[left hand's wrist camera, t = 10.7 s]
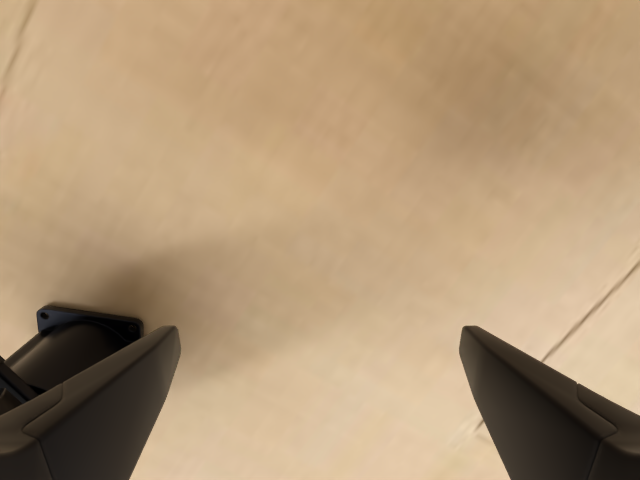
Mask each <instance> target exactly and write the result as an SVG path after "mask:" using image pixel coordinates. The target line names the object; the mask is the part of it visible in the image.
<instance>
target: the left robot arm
mask: <svg viewBox="0 0 640 480" xmlns="http://www.w3.org/2000/svg"><path fill="white" fill-rule="evenodd" d="M46 313H47V314H48V315H49V316H48V315H46ZM37 323H38V332H39V333H38V334H37V335H36V336H34V337H33V338H32V339H31V340H29V341H28V342H27V343H26V344H25V345H23V346H22V347H21V348H20V349H19V350H17V351H16V352H15V353H14V354H12V355H11V356H10V357H9V358H8V359H6V360H4V359H3V358H2V357H1V356H0V480H129V479H130V477H131V475H132V472H133V470H134V468H135V466H136V464H137V461H138V459H139V457H140V455H141V453H142V450H143V448H144V446H145V444H146V442H147V439H148V437H149V435H150V433H151V431H152V429H153V426H154V424H155V422H156V420H157V418H158V415H159V413H160V411H161V409H162V407H163V404H164V402H165V400H166V397H167V394H168V391H169V388H170V385H171V382H172V379H173V376H174V373H175V370H176V367H177V364H178V361H179V357H180V354H181V346H180V340H179V333H178V329H177V327H176V326H162V327H160V328H158V329H157V330H155V331H153V332H151V333H149V334H148V335H146V336H144V337H143V323H142V322H141V321H140V320H139V319H136V318H130V317H123V316H116V315H109V314H102V313H95V312H88V311H81V310H74V309H67V308H60V307H53V306H44V307H42V308H41V309H39V310H38V311H37ZM132 325H134V326H136V328H134V327H133V326H132ZM459 354H460V357H461V361H462V364H463V367H464V370H465V373H466V376H467V379H468V382H469V385H470V388H471V391H472V394H473V397H474V400H475V402H476V404H477V407H478V409H479V411H480V413H481V415H482V418H483V420H484V422H485V424H486V426H487V429H488V431H489V433H490V435H491V437H492V439H493V442H494V444H495V446H496V448H497V450H498V453H499V455H500V457H501V459H502V461H503V464H504V466H505V468H506V470H507V472H508V475H509V477H510V479H511V480H640V416H639V415H637V414H635V413H633V412H631V411H629V410H627V409H625V408H623V407H622V406H620V405H618V404H616V403H614V402H612V401H610V400H608V399H606V398H604V397H602V396H601V395H599V394H597V393H595V392H593V391H591V390H590V389H588V388H586V387H584V386H583V385H581V384H577V382H576V381H574V380H572V379H570V378H568V377H567V376H565V375H563V374H561V373H560V372H558V371H556V370H554V369H552V368H551V367H549V366H547V365H545V364H544V363H542V362H540V361H538V360H537V359H535V358H533V357H531V356H529V355H528V354H526V353H524V352H522V351H521V350H519V349H517V348H515V347H514V346H512V345H510V344H508V343H506V342H505V341H503V340H501V339H499V338H498V337H496V336H494V335H492V334H490V333H489V332H487V331H485V330H483V329H482V328H480V327H478V326H464V327H463V329H462V333H461V339H460V346H459Z"/></svg>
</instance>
